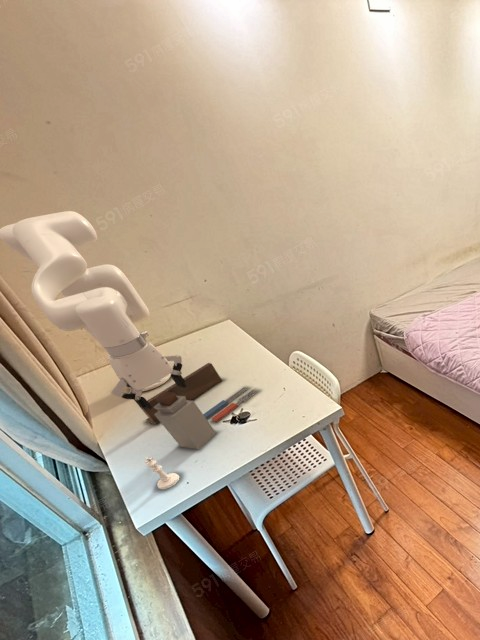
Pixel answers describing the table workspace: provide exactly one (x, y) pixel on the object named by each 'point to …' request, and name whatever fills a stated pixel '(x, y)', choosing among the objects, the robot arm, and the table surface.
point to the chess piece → (162, 475)
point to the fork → (232, 406)
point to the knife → (223, 404)
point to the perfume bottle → (183, 420)
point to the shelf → (187, 388)
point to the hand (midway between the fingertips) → (165, 396)
